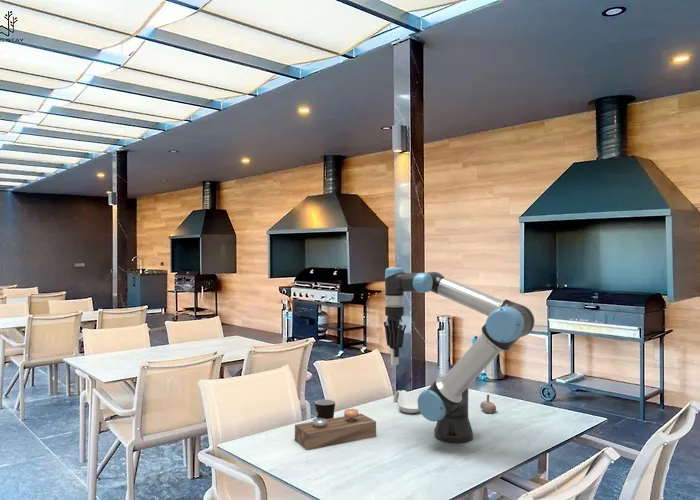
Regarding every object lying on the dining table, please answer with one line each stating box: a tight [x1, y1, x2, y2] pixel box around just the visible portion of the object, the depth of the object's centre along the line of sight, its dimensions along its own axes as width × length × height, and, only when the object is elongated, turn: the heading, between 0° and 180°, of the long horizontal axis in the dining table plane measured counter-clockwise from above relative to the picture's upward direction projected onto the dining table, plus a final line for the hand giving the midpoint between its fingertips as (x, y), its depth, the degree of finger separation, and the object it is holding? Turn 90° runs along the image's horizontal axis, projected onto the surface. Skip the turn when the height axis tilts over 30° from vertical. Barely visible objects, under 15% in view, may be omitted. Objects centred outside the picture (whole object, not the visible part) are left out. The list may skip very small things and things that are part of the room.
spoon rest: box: [392, 389, 420, 414], centre depth 244 cm, size 24×12×7 cm, turn 16°
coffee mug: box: [314, 398, 336, 419], centre depth 220 cm, size 12×9×10 cm
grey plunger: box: [312, 417, 327, 428], centre depth 200 cm, size 6×6×8 cm
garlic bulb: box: [480, 394, 497, 414], centre depth 238 cm, size 8×7×8 cm
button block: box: [294, 413, 377, 451], centre depth 203 cm, size 12×30×6 cm, turn 119°
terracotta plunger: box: [343, 408, 359, 422], centre depth 206 cm, size 6×6×8 cm
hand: (394, 364), depth 206 cm, fingers closed
